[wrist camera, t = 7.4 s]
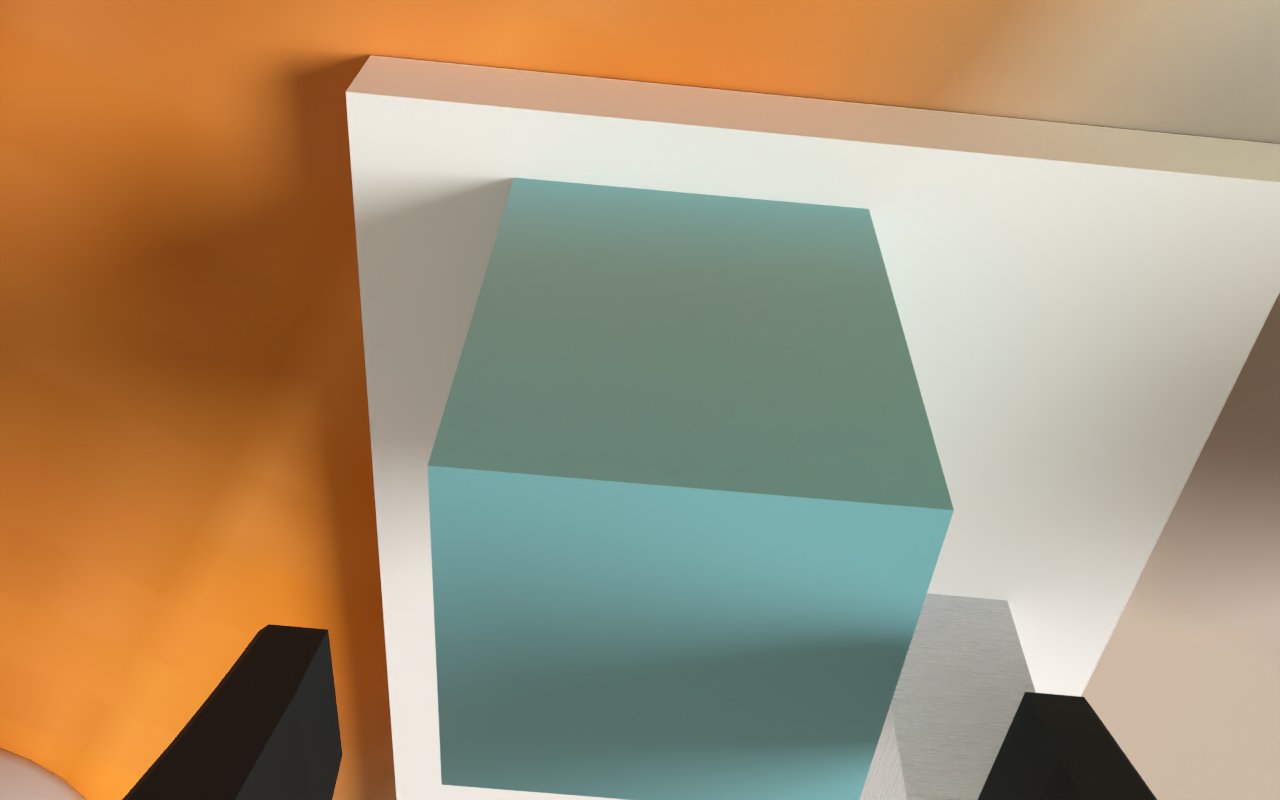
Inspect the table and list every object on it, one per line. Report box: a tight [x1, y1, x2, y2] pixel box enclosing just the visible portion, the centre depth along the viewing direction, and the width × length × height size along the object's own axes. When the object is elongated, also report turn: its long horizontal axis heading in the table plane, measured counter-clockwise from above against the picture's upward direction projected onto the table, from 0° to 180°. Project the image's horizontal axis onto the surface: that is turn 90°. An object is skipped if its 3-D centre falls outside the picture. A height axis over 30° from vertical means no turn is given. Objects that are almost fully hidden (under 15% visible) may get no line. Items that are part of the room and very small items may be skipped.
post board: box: [346, 55, 1280, 800], centre depth 22 cm, size 20×14×2 cm
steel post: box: [860, 593, 1036, 800], centre depth 20 cm, size 3×3×5 cm
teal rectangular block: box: [428, 178, 954, 800], centre depth 15 cm, size 5×5×7 cm
